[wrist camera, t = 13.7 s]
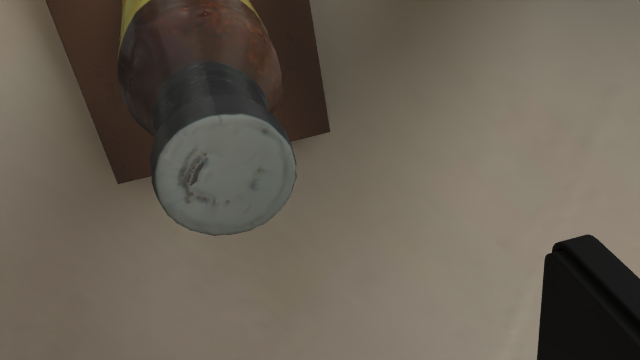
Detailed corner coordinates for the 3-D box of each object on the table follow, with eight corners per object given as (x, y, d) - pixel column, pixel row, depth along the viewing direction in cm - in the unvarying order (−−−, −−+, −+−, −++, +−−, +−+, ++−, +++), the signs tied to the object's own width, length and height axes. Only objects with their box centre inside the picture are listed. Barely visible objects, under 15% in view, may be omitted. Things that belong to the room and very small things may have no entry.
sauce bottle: (99, -14, 31) (30, 151, 14) (193, -85, 31) (234, 1, 14) (179, 79, 35) (198, 300, 18) (264, 17, 34) (367, 185, 17)
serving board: (267, -231, 30) (272, -234, 28) (324, 122, 40) (330, 132, 39) (-19, -183, 28) (-28, -184, 27) (119, 173, 38) (117, 184, 37)
